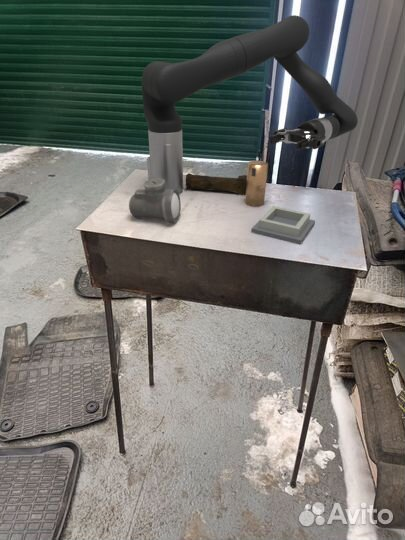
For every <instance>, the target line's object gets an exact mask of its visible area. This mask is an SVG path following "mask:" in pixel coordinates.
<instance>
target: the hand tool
mask: <svg viewBox="0 0 405 540" xmlns="http://www.w3.org/2000/svg"><path fill="white" fill-rule="evenodd" d="M246 184H247V174H244V175H243V174H242V175H238V176H237V177H223V176H210V175H202V174H192V173H190V172H189V173H187V174H186V176H185V189H186V190H187V191H188V190H192V191H193V190H206V191H207V190H208V191H209V190H210V191H217V192H218V191H220V192H232V193H236V194H237V195H238V196H246Z"/></svg>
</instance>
